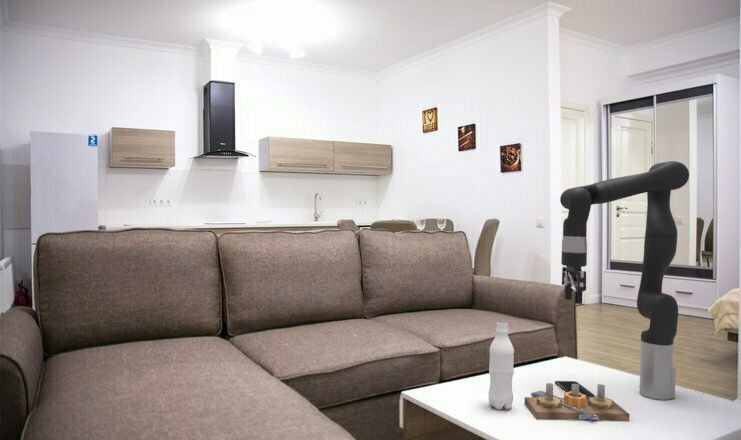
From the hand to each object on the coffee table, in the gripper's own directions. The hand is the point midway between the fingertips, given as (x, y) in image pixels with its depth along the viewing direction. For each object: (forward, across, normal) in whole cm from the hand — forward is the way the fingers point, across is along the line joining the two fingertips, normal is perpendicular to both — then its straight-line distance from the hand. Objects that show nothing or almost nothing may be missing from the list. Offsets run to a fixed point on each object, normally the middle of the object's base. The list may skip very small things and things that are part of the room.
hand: (573, 301), depth 168 cm
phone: (+31, +5, -3) cm, 31 cm away
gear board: (+30, -14, +4) cm, 33 cm away
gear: (+28, -14, +4) cm, 32 cm away
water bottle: (+30, -11, +25) cm, 41 cm away
